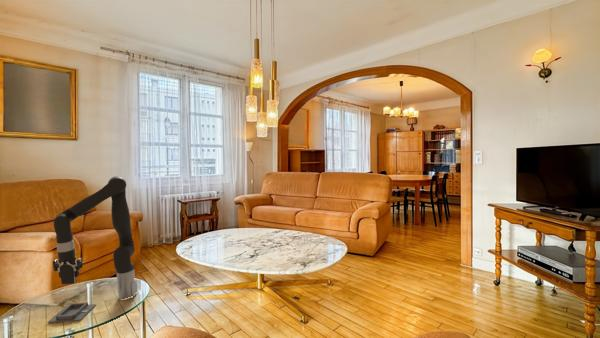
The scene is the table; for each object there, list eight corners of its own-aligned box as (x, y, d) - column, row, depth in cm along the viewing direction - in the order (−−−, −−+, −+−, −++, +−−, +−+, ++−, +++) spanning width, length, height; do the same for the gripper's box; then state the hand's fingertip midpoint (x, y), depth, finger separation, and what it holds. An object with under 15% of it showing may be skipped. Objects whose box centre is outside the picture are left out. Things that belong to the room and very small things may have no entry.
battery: (78, 280, 161) (76, 261, 160) (74, 284, 158) (72, 264, 156) (65, 281, 161) (63, 262, 159) (60, 284, 157) (58, 265, 155)
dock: (95, 305, 166) (95, 300, 166) (80, 321, 152) (80, 315, 152) (66, 307, 164) (65, 302, 164) (47, 323, 150) (47, 318, 150)
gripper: (84, 245, 161) (87, 273, 163) (57, 246, 160) (60, 274, 162) (75, 251, 154) (78, 279, 156) (46, 252, 152) (50, 281, 154)
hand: (69, 276), depth 159 cm, fingers closed on battery, 7 cm apart
